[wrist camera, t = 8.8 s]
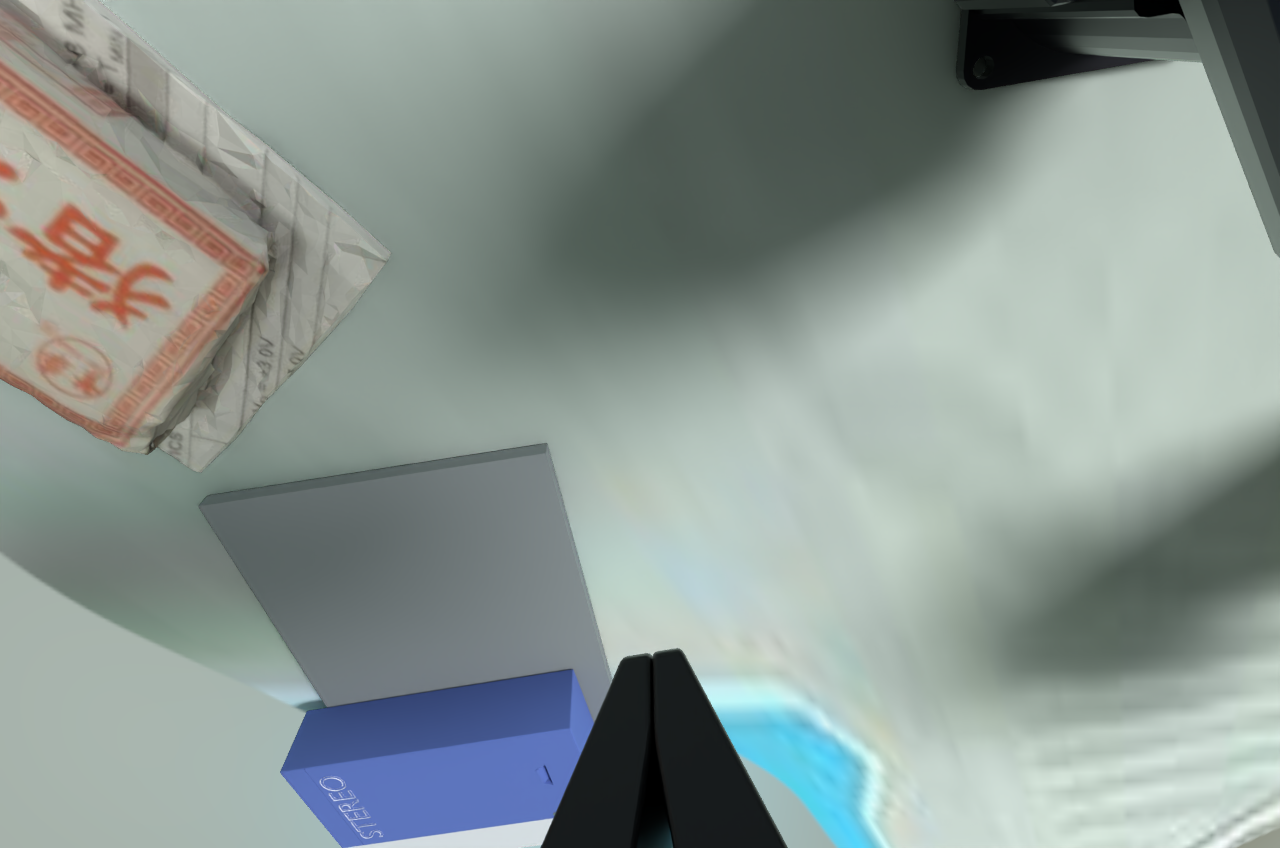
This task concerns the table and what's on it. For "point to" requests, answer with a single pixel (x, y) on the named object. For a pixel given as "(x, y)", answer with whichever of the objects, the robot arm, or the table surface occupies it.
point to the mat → (419, 576)
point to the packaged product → (152, 241)
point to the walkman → (443, 764)
